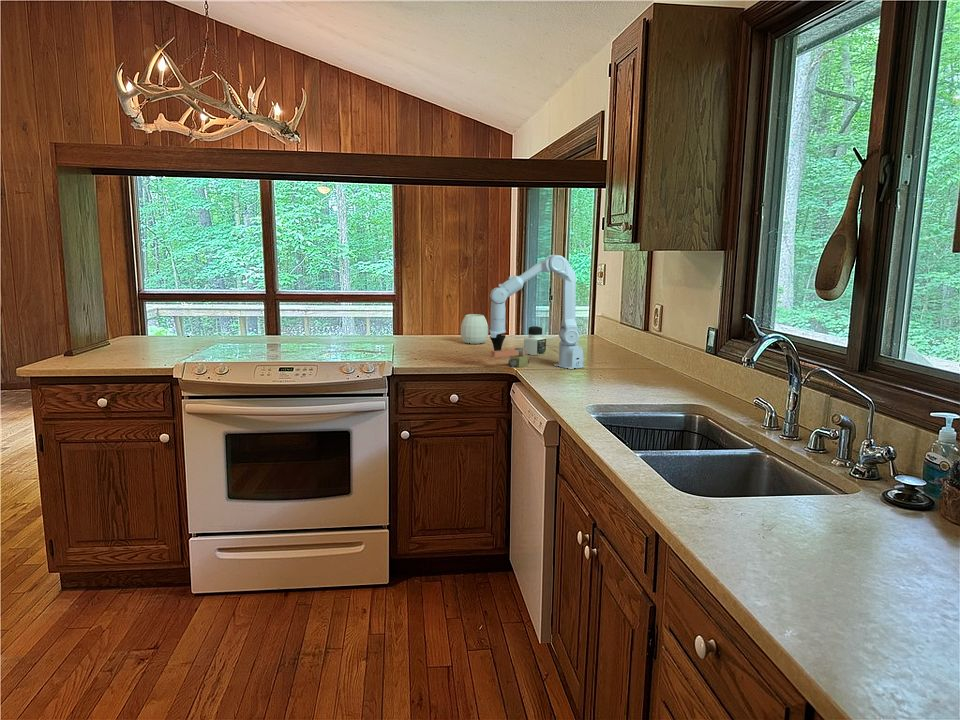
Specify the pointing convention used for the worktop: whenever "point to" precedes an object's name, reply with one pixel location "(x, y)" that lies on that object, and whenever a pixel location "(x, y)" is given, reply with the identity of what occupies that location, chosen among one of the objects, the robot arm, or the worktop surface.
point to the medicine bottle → (535, 341)
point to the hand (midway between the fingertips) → (497, 353)
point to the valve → (518, 361)
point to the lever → (508, 352)
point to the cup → (474, 329)
